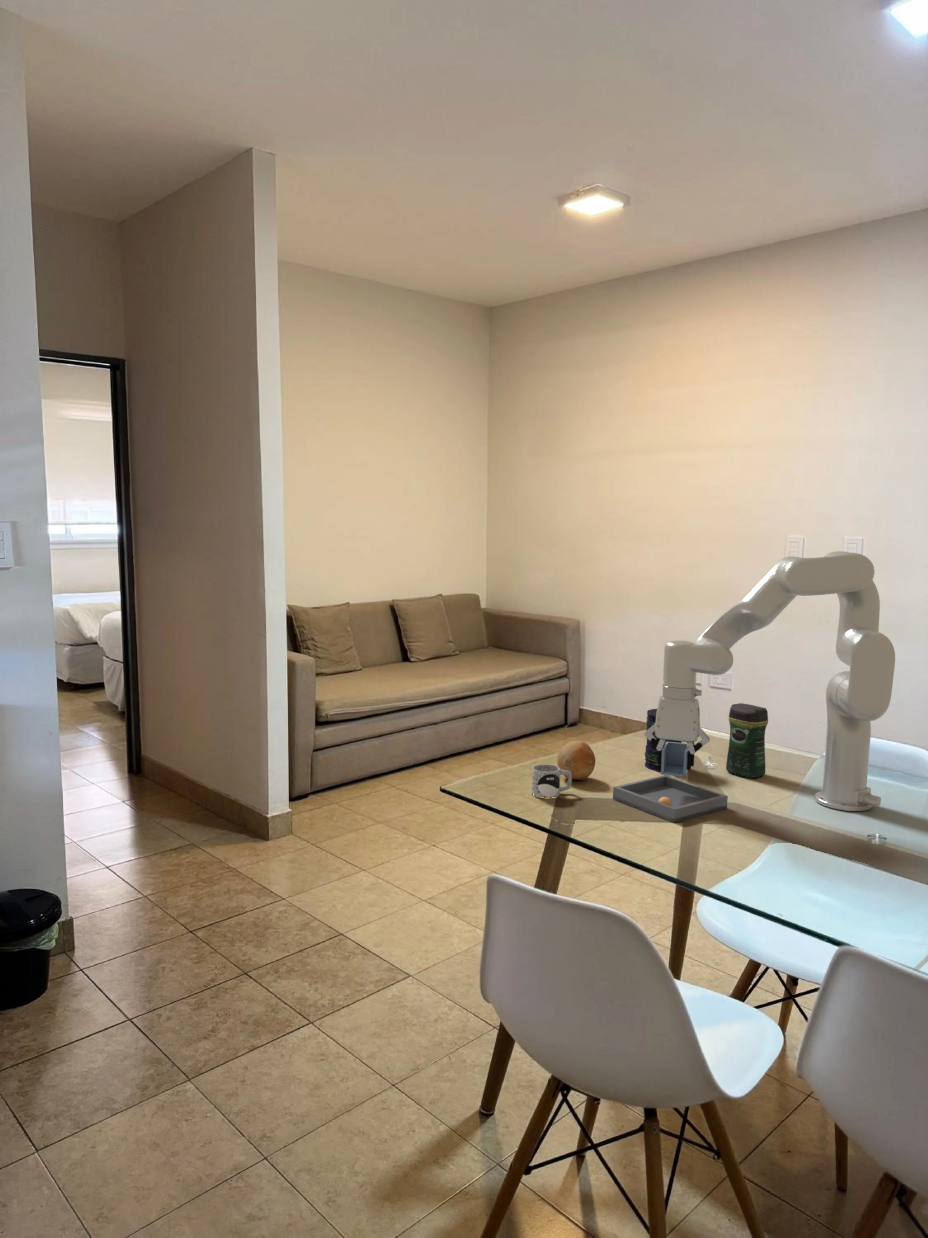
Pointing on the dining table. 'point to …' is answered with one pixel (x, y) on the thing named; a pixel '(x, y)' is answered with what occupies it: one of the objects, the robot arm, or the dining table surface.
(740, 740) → the coffee jar
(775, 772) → the dining table surface
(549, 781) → the mug
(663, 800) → the ball
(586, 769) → the onion
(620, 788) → the tray
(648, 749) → the storage jar
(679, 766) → the blue open box
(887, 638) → the robot arm
